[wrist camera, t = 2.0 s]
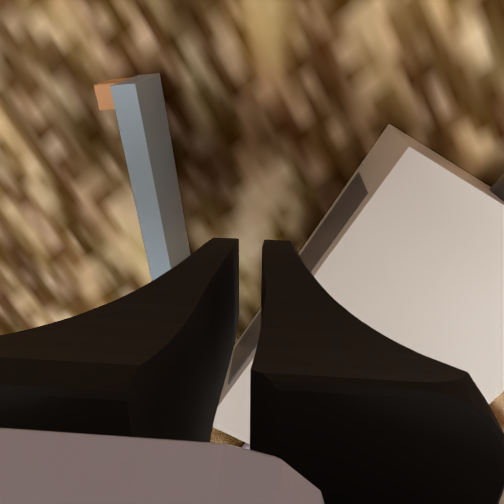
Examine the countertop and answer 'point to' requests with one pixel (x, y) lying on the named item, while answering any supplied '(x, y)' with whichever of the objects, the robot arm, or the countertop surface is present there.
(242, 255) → the countertop surface
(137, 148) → the side door
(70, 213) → the countertop surface
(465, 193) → the white box with knob
